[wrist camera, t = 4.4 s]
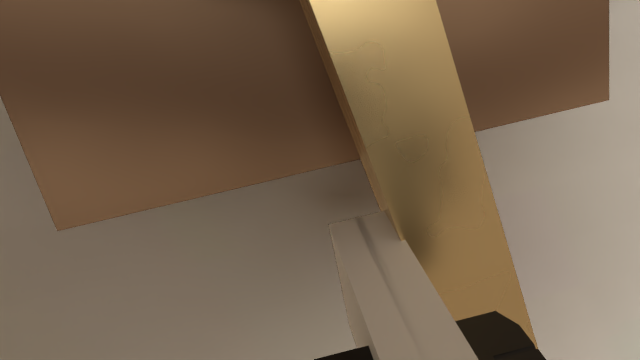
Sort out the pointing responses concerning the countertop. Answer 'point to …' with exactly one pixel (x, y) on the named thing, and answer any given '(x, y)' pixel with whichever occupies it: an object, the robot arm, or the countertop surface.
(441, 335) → the robot arm
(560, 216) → the countertop surface
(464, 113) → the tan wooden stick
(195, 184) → the base
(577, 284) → the countertop surface
